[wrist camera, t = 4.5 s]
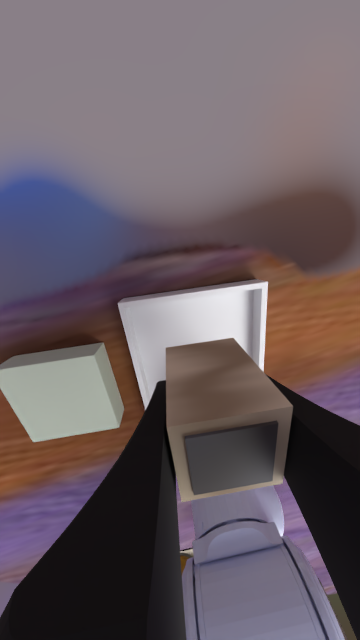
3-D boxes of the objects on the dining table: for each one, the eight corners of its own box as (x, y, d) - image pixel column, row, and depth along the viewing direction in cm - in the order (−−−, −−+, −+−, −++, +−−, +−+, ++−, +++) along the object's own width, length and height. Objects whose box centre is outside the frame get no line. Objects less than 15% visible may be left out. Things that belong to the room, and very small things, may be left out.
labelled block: (233, 337, 10) (295, 408, 5) (234, 391, 11) (284, 486, 7) (165, 347, 10) (166, 430, 5) (174, 401, 11) (181, 505, 6)
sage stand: (103, 342, 18) (94, 355, 15) (124, 408, 21) (119, 427, 18) (13, 355, 17) (-11, 371, 15) (48, 421, 20) (33, 442, 18)
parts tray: (122, 298, 16) (117, 303, 14) (256, 279, 17) (267, 281, 15) (150, 411, 21) (149, 426, 19) (253, 394, 22) (261, 407, 20)
